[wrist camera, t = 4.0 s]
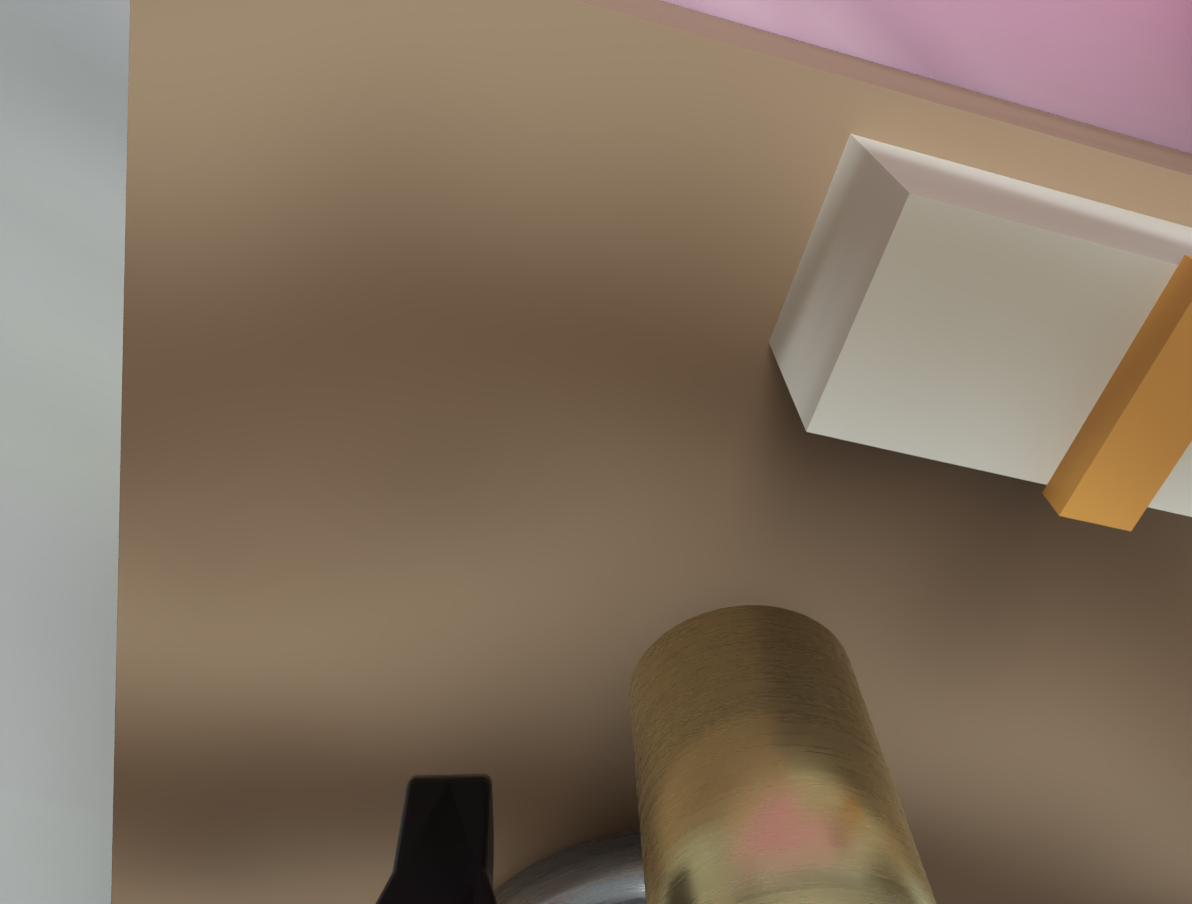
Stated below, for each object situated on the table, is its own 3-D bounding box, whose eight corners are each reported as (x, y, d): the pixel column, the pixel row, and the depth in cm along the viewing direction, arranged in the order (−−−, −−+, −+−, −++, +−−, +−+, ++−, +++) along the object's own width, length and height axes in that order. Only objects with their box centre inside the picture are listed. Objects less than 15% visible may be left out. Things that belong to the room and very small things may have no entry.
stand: (945, 1140, 26) (1011, 1363, 22) (139, 1060, 22) (56, 1305, 19) (1703, 302, 14) (2137, 477, 10) (202, -131, 10) (2, -116, 7)
